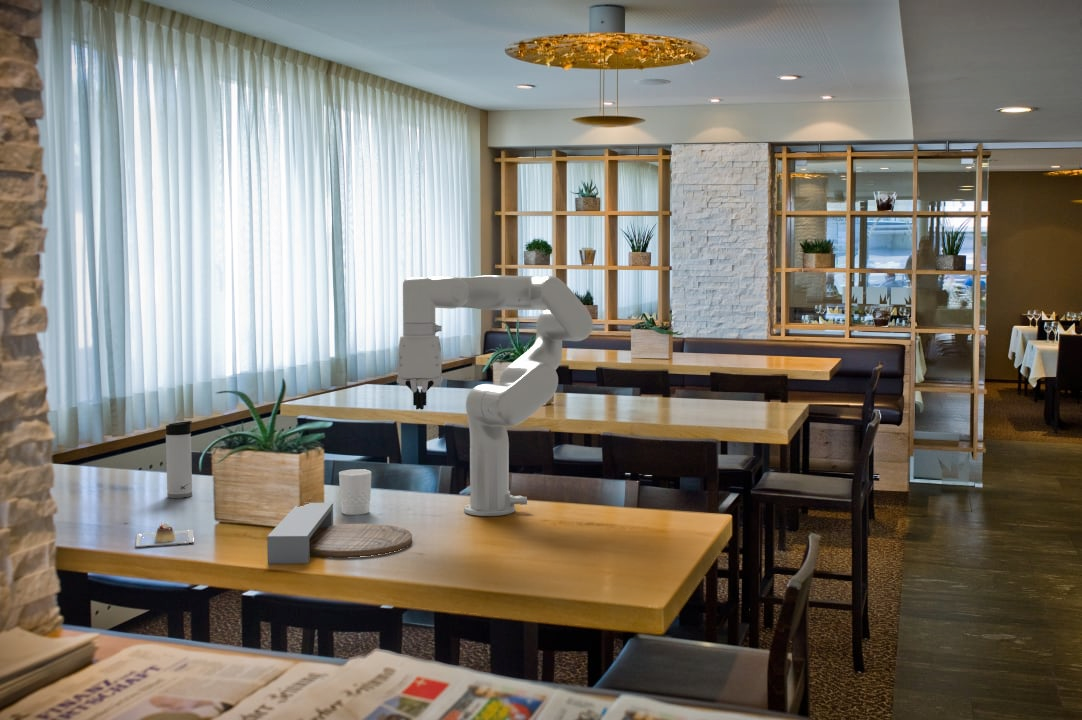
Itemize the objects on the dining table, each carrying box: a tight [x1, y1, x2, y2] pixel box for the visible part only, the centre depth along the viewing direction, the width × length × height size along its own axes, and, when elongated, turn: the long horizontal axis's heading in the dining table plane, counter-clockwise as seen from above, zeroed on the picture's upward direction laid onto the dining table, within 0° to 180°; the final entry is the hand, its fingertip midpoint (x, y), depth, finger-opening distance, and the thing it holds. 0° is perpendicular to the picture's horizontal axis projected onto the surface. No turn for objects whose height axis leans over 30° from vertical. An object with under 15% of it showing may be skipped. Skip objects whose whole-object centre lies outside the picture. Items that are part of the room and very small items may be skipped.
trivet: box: [309, 523, 413, 559], centre depth 240 cm, size 25×25×2 cm
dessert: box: [135, 520, 195, 548], centre depth 243 cm, size 12×12×5 cm
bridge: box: [266, 502, 334, 565], centre depth 239 cm, size 8×33×6 cm, turn 2°
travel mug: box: [165, 420, 193, 499], centre depth 290 cm, size 6×7×20 cm
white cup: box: [338, 469, 372, 516], centre depth 271 cm, size 8×8×10 cm
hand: (419, 408), depth 258 cm, fingers closed
